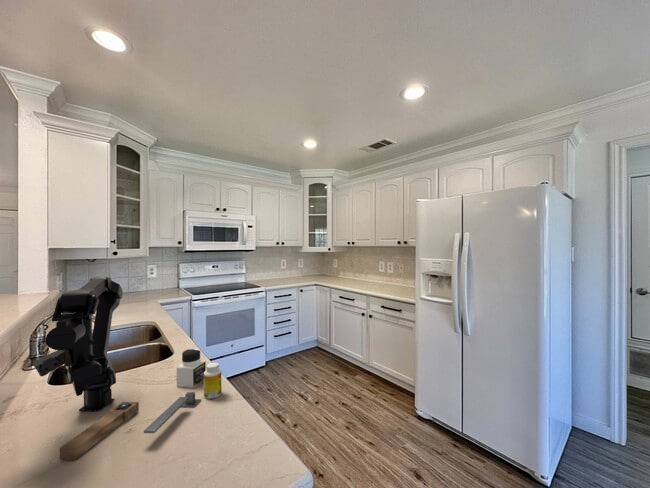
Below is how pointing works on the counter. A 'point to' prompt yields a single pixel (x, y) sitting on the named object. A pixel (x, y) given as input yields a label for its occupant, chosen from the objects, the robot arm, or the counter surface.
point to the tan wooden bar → (97, 431)
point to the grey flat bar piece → (173, 411)
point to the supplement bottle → (212, 381)
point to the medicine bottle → (191, 369)
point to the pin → (123, 406)
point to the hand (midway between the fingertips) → (79, 395)
